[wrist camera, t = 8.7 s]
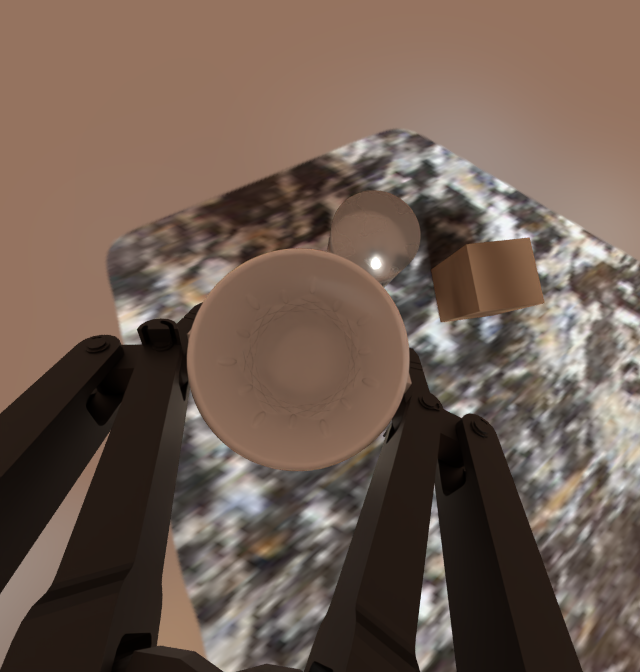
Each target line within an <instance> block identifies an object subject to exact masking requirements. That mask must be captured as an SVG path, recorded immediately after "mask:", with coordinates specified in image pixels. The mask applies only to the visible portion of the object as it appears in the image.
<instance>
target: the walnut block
mask: <svg viewBox="0 0 640 672" xmlns="http://www.w3.org/2000/svg"><path fill="white" fill-rule="evenodd" d="M431 273H432V278H433V283H434V289H435V294H436V300H437V305H438V310H439V316H440V321H441V322H448V321H455V320H463V319H470V318H478V317H486V316H493V315H497V314H501V313H505V312H509V311H514V310H518V309H522V308H526V307H530V306H534V305H539V304H543V303H544V299H543V294H542V290H541V285H540V281H539V277H538V272H537V268H536V264H535V259H534V255H533V250H532V246H531V242H530V238H521V239H512V240H502V241H493V242H484V243H474V244H466V245H465V246H463V247H462V248H461V249H459V250H458V251H456V252H455V253H454V254H452V255H451V256H449V257H448V258H447V259H445V260H444V261H442V262H441V263H440V264H438V265H437V266H435V267H434V268H433V269H431Z"/></svg>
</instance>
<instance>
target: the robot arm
mask: <svg viewBox="0 0 640 672" xmlns="http://www.w3.org/2000/svg"><path fill="white" fill-rule="evenodd" d="M202 303H203V302H202ZM202 303H200V304H198V305H196V306H194V307H193V308H192V309H191V310H190V311H189V313H187V314H186V315H185V316H184V318H182V319H181V320H180V321H179V322H178V323H177V324H176V323H175V322H174V321H172V320H169V319H153V320H150V321H146V322H145V323H143V324H141V325H140V326H139V327H138V329H137V331H138V334H139V336H140V339H141V342H142V345H121V343H120V340H119V339H117V338H116V337H115V336H111V335H99V336H93V337H90V338H87V339H85V340H83V341H82V342H80V343H78V344H77V345H76V346H75V347H74V348H73V349H72V350H70V352H68V353H67V354H66V355H65V356H64V357H63V358H62V359H61V360H59V361H58V362H57V363H56V364H55V365H54V366H53V367H52V368H51V369H49V370H48V371H47V372H46V373H45V374H44V375H43V376H42V377H40V378H39V379H38V380H37V381H36V382H35V383H34V384H33V385H32V386H30V387H29V388H28V389H27V390H26V391H25V392H24V393H23V394H22V395H20V397H18V398H17V399H16V400H15V401H14V402H13V403H12V404H11V405H9V406H8V407H7V408H6V409H5V410H4V411H3V412H2V413H1V414H0V593H1V592H2V590H3V589H4V587H5V586H6V584H7V583H8V581H9V580H10V578H11V577H12V576H13V574H14V573H15V571H16V570H17V568H18V567H19V565H20V564H21V562H22V561H23V559H24V558H25V556H26V555H27V553H28V552H29V550H30V549H31V547H32V546H33V544H34V543H35V541H36V540H37V539H38V537H39V535H40V534H41V533H42V531H43V530H44V528H45V527H46V525H47V524H48V522H49V521H50V519H51V518H52V516H53V515H54V513H55V512H56V510H57V509H58V507H59V506H60V504H61V503H62V502H63V500H64V499H65V497H66V496H67V494H68V492H69V491H70V490H71V488H72V487H73V485H74V484H75V482H76V481H77V479H78V478H79V476H80V475H81V473H82V472H83V470H84V469H85V467H86V466H87V464H88V463H89V461H90V460H91V458H92V457H93V456H94V454H95V453H96V451H97V450H98V448H99V447H100V445H101V444H102V442H103V441H104V439H105V438H106V436H107V435H108V433H109V432H110V434H109V436H108V439H107V442H106V444H105V447H104V450H103V452H102V455H101V458H100V460H99V463H98V465H97V468H96V471H95V473H94V476H93V479H92V481H91V484H90V487H89V489H88V492H87V494H86V497H85V500H84V503H83V505H82V508H81V510H80V513H79V516H78V518H77V521H76V524H75V526H74V529H73V531H72V534H71V537H70V539H69V542H68V545H67V547H66V550H65V553H64V555H63V558H62V561H61V563H60V566H59V569H58V571H57V574H56V576H55V578H54V581H53V583H52V585H51V586H50V588H49V589H48V591H47V592H46V593H45V594H44V595H43V596H42V597H41V598H40V599H39V600H38V601H37V602H36V603H35V604H34V605H33V606H32V607H31V609H30V610H29V612H28V613H27V615H26V616H25V618H24V619H23V621H22V622H21V624H20V626H19V628H18V630H17V632H16V634H15V637H14V639H13V640H12V643H11V645H10V648H9V650H8V652H7V655H6V657H5V659H4V662H3V664H2V667H1V669H0V672H223V671H222V670H220V669H219V668H218V667H216V666H215V665H213V664H212V663H211V662H209V661H208V660H206V659H205V658H203V657H202V656H201V655H199V654H198V653H196V652H194V651H189V650H183V649H177V648H171V647H165V646H157V640H158V632H159V625H160V618H161V609H162V573H163V566H164V559H165V552H166V546H167V538H168V532H169V525H170V519H171V512H172V505H173V498H174V492H175V485H176V478H177V471H178V465H179V458H180V451H181V444H182V438H183V431H184V424H185V417H186V411H187V404H188V397H189V390H190V385H189V380H188V373H187V349H188V341H189V336H190V332H191V329H192V325H193V323H194V320H195V317H196V315H197V313H198V311H199V309H200V307H201V305H202ZM110 430H111V431H110ZM383 436H384V437H385V436H386V437H385V440H384V443H383V446H382V449H381V452H380V456H379V459H378V462H377V465H376V468H375V471H374V474H373V477H372V480H371V483H370V486H369V489H368V492H367V495H366V498H365V501H364V504H363V507H362V510H361V513H360V516H359V519H358V522H357V525H356V528H355V531H354V534H353V537H352V540H351V543H350V546H349V550H348V553H347V556H346V559H345V562H344V565H343V568H342V571H341V574H340V577H339V580H338V583H337V586H336V589H335V592H334V595H333V598H332V601H331V604H330V607H329V609H328V612H327V614H326V616H325V618H324V620H323V621H322V623H321V625H320V628H319V630H318V632H317V635H316V638H315V641H314V644H313V646H312V649H311V652H310V655H309V658H308V661H307V664H306V667H305V670H304V672H420V670H419V666H418V663H417V660H416V655H415V641H416V632H417V623H418V615H419V607H420V599H421V590H422V582H423V574H424V565H425V557H426V549H427V541H428V532H429V524H430V516H431V507H432V499H433V491H434V483H435V491H436V499H437V508H438V516H439V525H440V533H441V542H442V550H443V559H444V567H445V576H446V584H447V593H448V601H449V610H450V618H451V627H452V635H453V644H454V652H455V661H456V669H457V672H583V671H582V668H581V666H580V663H579V660H578V657H577V655H576V652H575V649H574V646H573V644H572V641H571V638H570V635H569V633H568V630H567V627H566V624H565V621H564V619H563V616H562V613H561V610H560V608H559V605H558V602H557V599H556V597H555V594H554V591H553V588H552V586H551V583H550V580H549V577H548V575H547V572H546V569H545V566H544V564H543V561H542V558H541V555H540V553H539V550H538V547H537V544H536V542H535V539H534V536H533V533H532V530H531V528H530V525H529V522H528V519H527V517H526V514H525V511H524V508H523V506H522V503H521V500H520V497H519V495H518V492H517V489H516V486H515V484H514V481H513V478H512V475H511V473H510V470H509V467H508V464H507V462H506V459H505V456H504V453H503V451H502V448H501V445H500V442H499V439H498V437H497V434H496V432H495V430H494V428H493V427H492V426H491V425H490V424H489V423H488V422H487V421H486V420H485V419H483V418H482V417H480V416H478V415H476V414H466V415H464V416H463V417H462V418H460V417H458V416H456V415H454V414H452V413H450V412H448V411H446V410H444V409H443V407H442V404H441V403H440V401H439V400H438V399H437V398H436V397H435V396H434V395H433V394H431V393H430V392H429V388H428V385H427V382H426V379H425V375H424V372H423V369H422V366H421V362H420V359H419V356H418V355H417V354H416V352H415V351H414V350H413V349H412V348H409V374H408V380H407V385H406V388H405V392H404V395H403V398H402V400H401V403H400V405H399V407H398V409H397V411H396V413H395V415H394V416H393V418H392V423H391V425H390V426H389V428H388V429H387V430H386V432H385V433H384V435H383ZM237 672H303V671H301V670H300V669H294V668H288V667H283V666H277V665H271V664H264V665H260V666H256V667H252V668H249V669H245V670H241V671H237Z"/></svg>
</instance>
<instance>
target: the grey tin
mask: <svg viewBox="0 0 640 672" xmlns="http://www.w3.org/2000/svg"><path fill="white" fill-rule="evenodd" d="M419 245H420V227H419V223H418V220H417V218H416V216H415V214H414V212H413V211H412V210H411V208H410V207H409V206H408V205H407V204H406V203H405V202H404V201H403V200H401V199H400V198H398V197H397V196H395V195H393V194H390V193H387V192H383V191H376V190H372V191H364V192H360V193H357V194H355V195H353V196H351V197H350V198H348V199H347V200H346V201H344V202H343V203H342V204H341V206H340V207H339V208H338V210H337V212H336V214H335V216H334V219H333V222H332V228H331V233H330V238H329V243H328V248H327V252H329V253H332V254H335V255H338V256H341V257H343V258H345V259H347V260H349V261H351V262H353V263H355V264H357V265H358V266H360V267H361V268H363V269H364V270H365V271H367V272H368V273H369V274H371V275H372V276H373V277H374V278H375V279H376V280H377V281H378V282H379V283H380V284H381V285H382V286H383V288H384V287H385V286H386V285H387V284H388V283H389V282H390V281H391V280H392V279H394V278H395V277H396V276H397V275H398V274H399V273H400V272H401V271H402V270H403V269H404V268H405V267H406V266H407V265H408V264H409V263H410V262H411V261H412V260H413V258H414V257H415V255H416V253H417V251H418V248H419Z"/></svg>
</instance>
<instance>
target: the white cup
mask: <svg viewBox="0 0 640 672" xmlns="http://www.w3.org/2000/svg"><path fill="white" fill-rule="evenodd" d="M187 373H188V380H189V385H190V389H191V392H192V396H193V398H194V401H195V404H196V406H197V408H198V410H199V412H200V414H201V416H202V417H203V419H204V421H205V422H206V424H207V425H208V426H209V428H210V429H211V430H212V432H213V433H214V434H215V435H216V436H217V437H218V438H219V439H220V440H221V441H222V442H223V443H224V444H225V445H227V446H228V447H229V448H230V449H232V450H233V451H234V452H236V453H237V454H239V455H241V456H242V457H244V458H246V459H248V460H250V461H252V462H254V463H257V464H260V465H263V466H266V467H269V468H273V469H279V470H286V471H309V470H316V469H321V468H325V467H329V466H332V465H335V464H338V463H340V462H343V461H345V460H347V459H349V458H351V457H353V456H354V455H356V454H358V453H359V452H361V451H362V450H363V449H365V448H366V447H367V446H369V445H370V444H371V443H372V442H373V441H374V440H375V439H376V438H377V437H378V436H379V435H380V434H381V433H382V432H383V431H384V429H385V428H386V427H387V425H388V424H389V423H390V421H391V420H392V418H393V416H394V415H395V413H396V411H397V409H398V407H399V405H400V403H401V400H402V398H403V395H404V392H405V388H406V385H407V380H408V374H409V344H408V338H407V333H406V329H405V326H404V323H403V320H402V318H401V315H400V313H399V311H398V309H397V307H396V305H395V303H394V302H393V300H392V298H391V297H390V295H389V294H388V293H387V291H386V290H385V289H384V288H383V286H382V285H381V284H380V283H379V282H378V281H377V280H376V279H375V278H374V277H373V276H372V275H371V274H369V273H368V272H367V271H365V270H364V269H363V268H361V267H360V266H358V265H357V264H355V263H353V262H351V261H349V260H347V259H345V258H343V257H341V256H338V255H335V254H332V253H329V252H325V251H321V250H315V249H305V248H293V249H283V250H277V251H273V252H269V253H265V254H262V255H260V256H257V257H255V258H252V259H250V260H248V261H246V262H245V263H243V264H241V265H240V266H238V267H236V268H235V269H234V270H232V271H231V272H230V273H228V274H227V275H226V276H225V277H224V278H223V279H222V280H221V281H220V282H219V283H218V284H217V285H216V286H215V287H214V288H213V289H212V290H211V292H210V293H209V294H208V296H207V297H206V299H205V300H204V302H203V303H202V305H201V307H200V309H199V311H198V313H197V315H196V317H195V320H194V323H193V325H192V329H191V332H190V336H189V341H188V349H187Z"/></svg>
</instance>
